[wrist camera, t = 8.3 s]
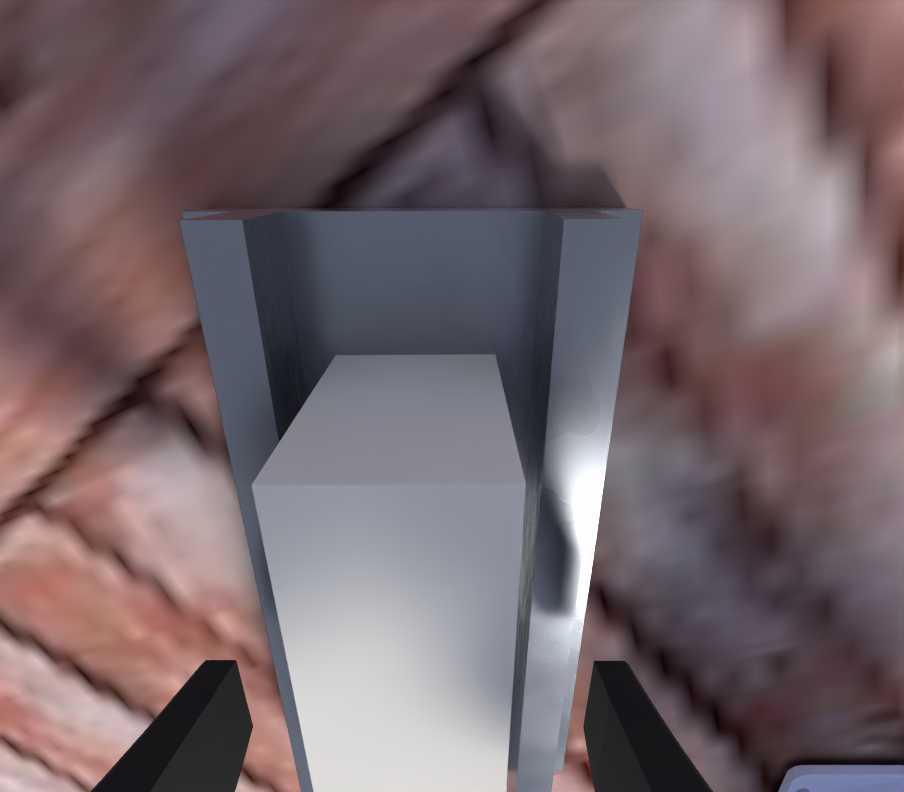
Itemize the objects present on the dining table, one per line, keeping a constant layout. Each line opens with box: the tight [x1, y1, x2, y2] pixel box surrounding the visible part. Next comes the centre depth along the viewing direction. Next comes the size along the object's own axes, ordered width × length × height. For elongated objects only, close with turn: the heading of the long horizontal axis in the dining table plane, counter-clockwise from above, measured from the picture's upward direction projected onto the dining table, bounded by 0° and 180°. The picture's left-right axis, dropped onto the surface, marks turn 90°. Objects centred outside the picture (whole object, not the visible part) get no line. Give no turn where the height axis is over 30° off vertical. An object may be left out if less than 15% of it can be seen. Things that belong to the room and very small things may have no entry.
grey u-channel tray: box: [179, 207, 643, 792], centre depth 13 cm, size 18×9×3 cm, turn 0°
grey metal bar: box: [252, 354, 526, 792], centre depth 11 cm, size 12×4×5 cm, turn 0°
